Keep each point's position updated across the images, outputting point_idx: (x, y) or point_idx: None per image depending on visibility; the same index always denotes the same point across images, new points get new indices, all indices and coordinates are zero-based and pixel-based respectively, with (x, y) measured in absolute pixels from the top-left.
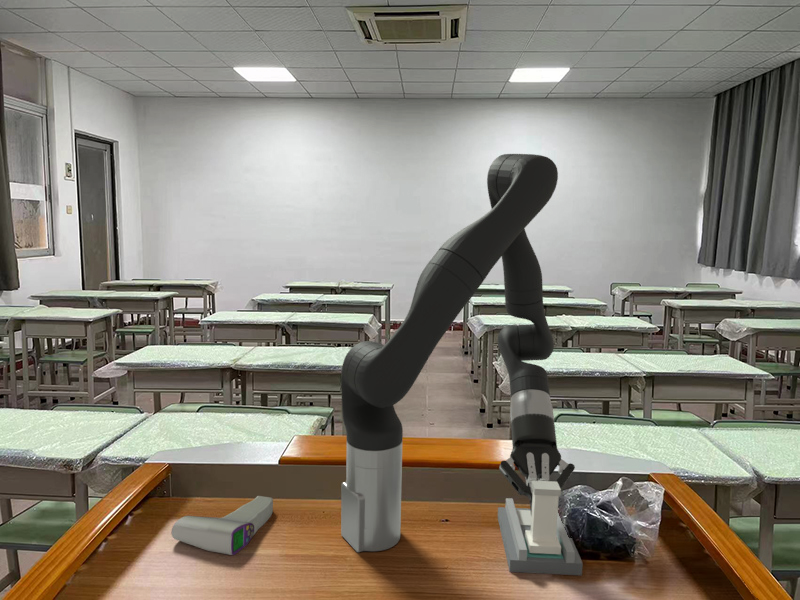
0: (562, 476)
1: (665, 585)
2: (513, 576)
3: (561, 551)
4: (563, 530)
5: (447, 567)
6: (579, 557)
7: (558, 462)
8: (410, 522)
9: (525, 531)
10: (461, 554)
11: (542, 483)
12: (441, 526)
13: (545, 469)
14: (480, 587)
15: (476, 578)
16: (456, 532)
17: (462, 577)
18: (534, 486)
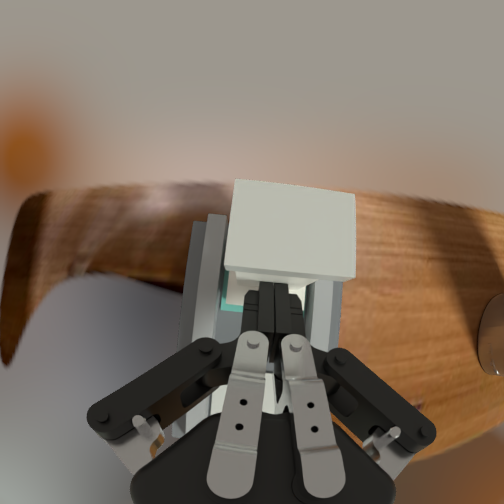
0: (159, 389)
1: (78, 205)
2: None
3: (223, 264)
4: (201, 308)
5: (427, 259)
6: (191, 241)
7: (154, 458)
8: (461, 387)
9: (303, 306)
10: (408, 298)
11: (309, 245)
12: (425, 386)
13: (240, 417)
14: (384, 206)
15: (389, 228)
16: (406, 371)
17: (408, 232)
18: (353, 214)
